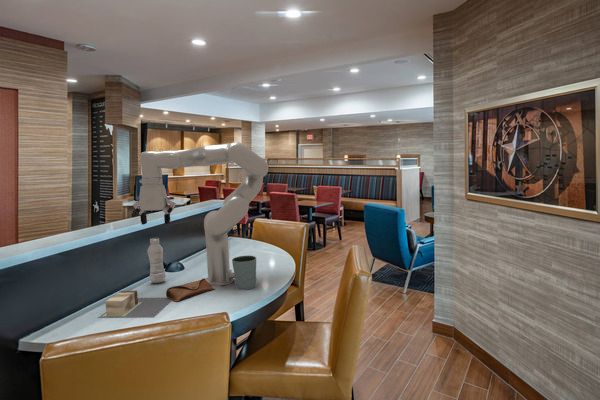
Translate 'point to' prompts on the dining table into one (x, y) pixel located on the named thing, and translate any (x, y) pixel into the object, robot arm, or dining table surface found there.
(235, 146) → the robot arm
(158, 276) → the plastic bottle
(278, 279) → the dining table surface
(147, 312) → the mat
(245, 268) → the grey cup
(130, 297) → the card box
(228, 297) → the dining table surface
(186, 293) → the sunglasses case
